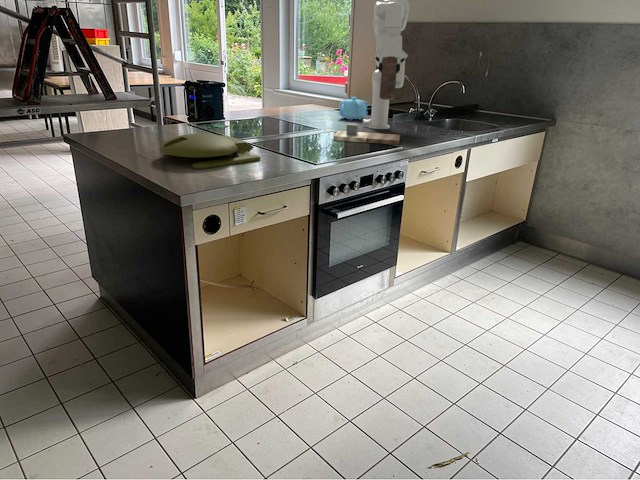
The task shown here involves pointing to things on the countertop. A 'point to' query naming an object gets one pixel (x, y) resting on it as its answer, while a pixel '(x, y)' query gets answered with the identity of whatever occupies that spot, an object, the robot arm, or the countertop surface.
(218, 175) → the countertop surface
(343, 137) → the light wood flat board
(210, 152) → the spaceship
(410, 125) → the countertop surface
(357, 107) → the decorative pot
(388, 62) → the brown wooden block
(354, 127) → the gray cube
